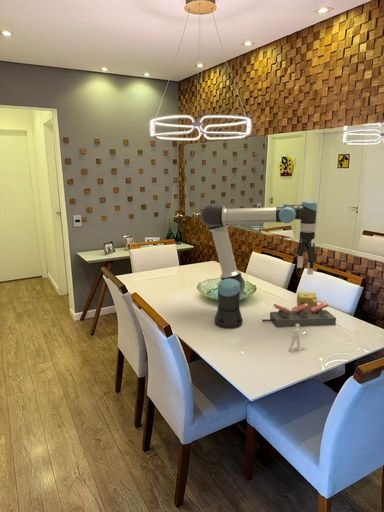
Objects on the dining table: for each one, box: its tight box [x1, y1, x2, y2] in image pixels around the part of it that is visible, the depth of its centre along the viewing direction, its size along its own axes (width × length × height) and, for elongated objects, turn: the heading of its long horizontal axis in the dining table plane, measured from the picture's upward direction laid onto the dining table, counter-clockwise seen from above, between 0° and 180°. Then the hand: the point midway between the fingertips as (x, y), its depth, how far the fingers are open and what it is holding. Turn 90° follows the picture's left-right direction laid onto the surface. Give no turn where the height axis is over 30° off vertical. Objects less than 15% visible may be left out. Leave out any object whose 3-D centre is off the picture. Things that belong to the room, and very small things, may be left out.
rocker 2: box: [291, 303, 310, 313], centre depth 193 cm, size 9×4×2 cm, turn 94°
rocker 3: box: [310, 301, 329, 312], centre depth 194 cm, size 9×4×2 cm, turn 93°
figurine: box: [288, 324, 308, 353], centre depth 161 cm, size 5×9×12 cm, turn 124°
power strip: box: [261, 309, 337, 328], centre depth 192 cm, size 38×12×6 cm, turn 94°
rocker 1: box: [273, 303, 292, 313], centre depth 193 cm, size 9×4×2 cm, turn 94°
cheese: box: [296, 291, 318, 311], centre depth 207 cm, size 10×11×10 cm
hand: (304, 271), depth 187 cm, fingers open, 13 cm apart
